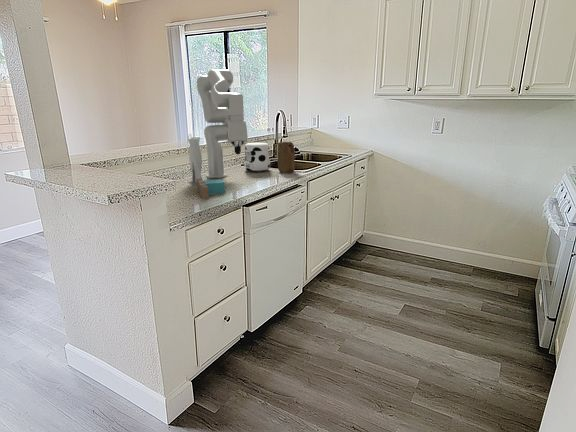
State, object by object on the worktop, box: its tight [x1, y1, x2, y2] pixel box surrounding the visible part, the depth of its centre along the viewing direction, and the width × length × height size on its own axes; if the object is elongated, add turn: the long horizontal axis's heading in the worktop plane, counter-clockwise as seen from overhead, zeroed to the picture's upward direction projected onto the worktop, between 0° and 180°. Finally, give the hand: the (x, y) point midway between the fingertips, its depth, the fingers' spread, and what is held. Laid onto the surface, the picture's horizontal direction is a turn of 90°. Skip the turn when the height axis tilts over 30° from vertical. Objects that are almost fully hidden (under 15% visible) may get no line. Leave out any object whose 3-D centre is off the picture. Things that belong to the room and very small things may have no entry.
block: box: [277, 141, 296, 174], centre depth 250 cm, size 11×8×20 cm
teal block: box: [203, 178, 226, 195], centre depth 203 cm, size 8×10×6 cm
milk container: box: [244, 142, 271, 173], centre depth 255 cm, size 17×17×18 cm
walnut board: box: [196, 178, 210, 200], centre depth 199 cm, size 20×3×6 cm, turn 21°
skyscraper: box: [187, 133, 204, 185], centre depth 221 cm, size 8×8×28 cm
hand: (237, 153), depth 203 cm, fingers closed
